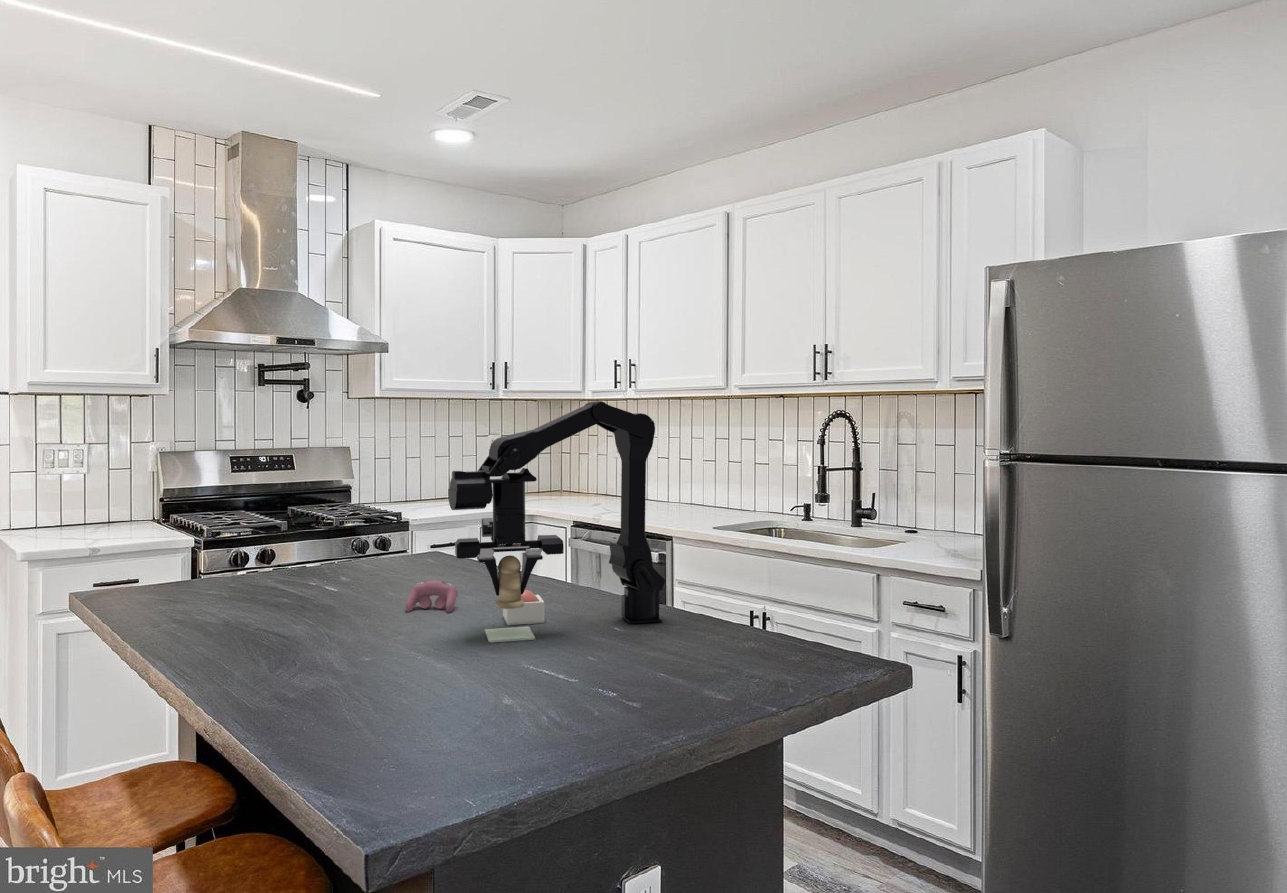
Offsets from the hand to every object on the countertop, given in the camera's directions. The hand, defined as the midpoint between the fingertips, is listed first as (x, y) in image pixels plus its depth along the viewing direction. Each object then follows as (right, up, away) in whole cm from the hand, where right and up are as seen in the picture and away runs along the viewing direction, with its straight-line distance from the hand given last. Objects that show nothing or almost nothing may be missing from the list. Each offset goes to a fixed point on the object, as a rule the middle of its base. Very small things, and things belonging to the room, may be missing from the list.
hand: (509, 594), depth 152 cm
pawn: (0, -2, 0) cm, 2 cm away
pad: (0, -7, 0) cm, 7 cm away
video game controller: (-19, -7, +21) cm, 29 cm away
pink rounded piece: (+1, -7, +12) cm, 14 cm away
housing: (+1, -7, +12) cm, 14 cm away
